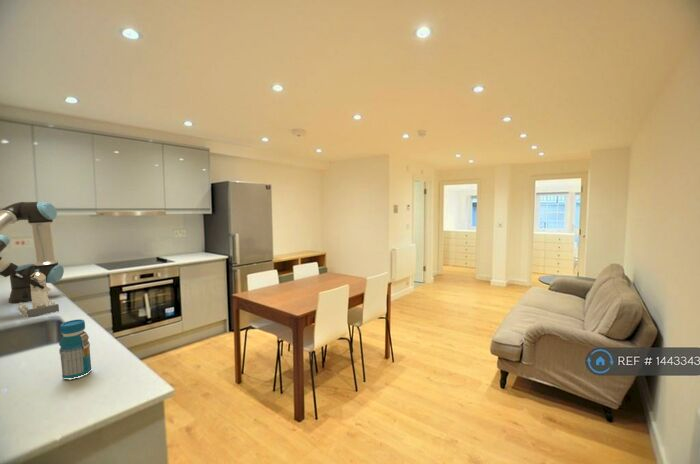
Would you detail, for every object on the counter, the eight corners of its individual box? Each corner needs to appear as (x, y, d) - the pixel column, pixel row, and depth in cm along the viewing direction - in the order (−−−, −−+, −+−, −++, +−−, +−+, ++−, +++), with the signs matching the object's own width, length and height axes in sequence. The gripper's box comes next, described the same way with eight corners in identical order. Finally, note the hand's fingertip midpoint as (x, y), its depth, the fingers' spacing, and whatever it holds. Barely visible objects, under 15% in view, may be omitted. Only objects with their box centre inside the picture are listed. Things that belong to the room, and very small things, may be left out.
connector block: (27, 316, 178) (26, 310, 178) (58, 310, 188) (57, 303, 188) (28, 317, 177) (27, 310, 176) (59, 311, 187) (58, 304, 187)
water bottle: (39, 314, 182) (34, 271, 180) (29, 313, 183) (25, 270, 181) (52, 310, 188) (48, 268, 186) (43, 309, 190) (39, 268, 188)
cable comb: (18, 308, 192) (17, 302, 192) (47, 303, 203) (46, 297, 202) (28, 317, 177) (27, 310, 176) (59, 311, 187) (58, 304, 187)
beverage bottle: (67, 383, 111) (61, 328, 109) (58, 377, 115) (53, 324, 113) (96, 372, 118) (91, 320, 116) (86, 366, 122) (82, 316, 121)
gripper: (-6, 271, 177) (37, 292, 191) (0, 275, 165) (46, 298, 180) (7, 260, 181) (48, 282, 195) (14, 264, 169) (57, 287, 184)
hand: (47, 289), depth 188 cm, fingers open, 7 cm apart
